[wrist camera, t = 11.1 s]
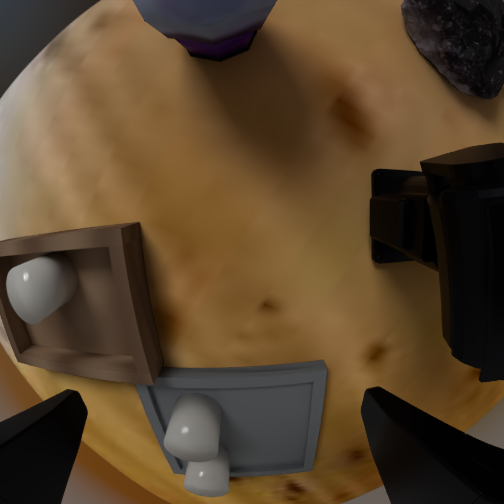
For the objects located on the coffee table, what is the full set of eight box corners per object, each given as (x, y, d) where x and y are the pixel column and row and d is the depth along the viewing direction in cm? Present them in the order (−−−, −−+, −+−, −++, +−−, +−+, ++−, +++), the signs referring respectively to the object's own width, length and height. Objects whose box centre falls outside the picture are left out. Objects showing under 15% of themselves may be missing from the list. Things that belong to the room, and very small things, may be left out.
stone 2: (207, 387, 20) (200, 428, 15) (229, 418, 20) (227, 458, 16) (166, 398, 20) (152, 436, 15) (189, 427, 21) (182, 464, 16)
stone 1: (82, 302, 18) (50, 327, 14) (47, 299, 18) (15, 321, 13) (73, 250, 17) (36, 266, 13) (38, 251, 17) (1, 266, 13)
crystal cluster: (504, 102, 16) (566, 83, 6) (439, 108, 16) (529, 69, 6) (447, 4, 14) (492, -31, 4) (363, -13, 14) (407, -77, 4)
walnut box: (139, 222, 18) (120, 228, 15) (163, 362, 20) (153, 385, 17) (5, 239, 17) (-16, 246, 15) (33, 347, 20) (17, 361, 17)
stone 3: (233, 447, 21) (232, 483, 17) (226, 466, 22) (224, 499, 18) (191, 439, 21) (185, 475, 17) (188, 459, 22) (182, 492, 18)
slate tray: (323, 359, 20) (327, 370, 19) (310, 461, 23) (312, 470, 22) (137, 365, 20) (131, 375, 19) (176, 464, 23) (174, 473, 22)
